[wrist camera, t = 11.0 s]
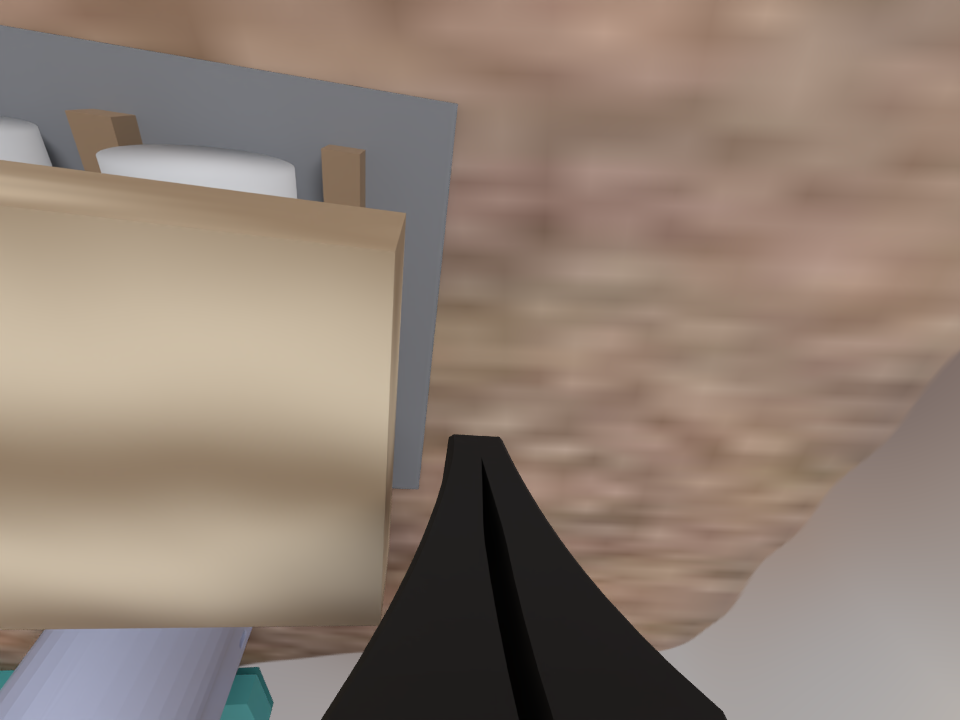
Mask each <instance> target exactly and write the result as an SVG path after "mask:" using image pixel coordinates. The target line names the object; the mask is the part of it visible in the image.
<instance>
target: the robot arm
mask: <svg viewBox="0 0 960 720" xmlns="http://www.w3.org/2000/svg"><path fill="white" fill-rule="evenodd" d="M251 630H252V627H209V628H124V629H45V630H44V631H43V633H42V634H41V635H40V637H39V638H38V639H37V641H36V642H35V644H34V645H33V646H32V648H31V649H30V650H29V652H28V653H27V654H26V656H25V657H24V658H23V660H22V661H21V663H20V664H19V665H18V667H17V668H16V669H15V671H14V672H13V673H12V675H11V676H10V677H9V679H8V680H7V682H6V683H5V684H4V686H3V687H2V688H1V690H0V720H220V718H221V715H222V712H223V709H224V706H225V704H226V701H227V698H228V695H229V692H230V689H231V687H232V684H233V681H234V678H235V675H236V672H237V669H238V667H239V664H240V661H241V658H242V655H243V652H244V650H245V647H246V644H247V641H248V638H249V635H250V632H251ZM321 720H727V719H726V717H725V715H724V713H723V711H722V710H721V709H720V708H718V707H717V706H716V705H715V704H714V703H713V702H712V701H711V700H709V699H708V698H707V697H706V696H705V695H704V694H703V693H702V692H701V691H700V690H698V689H697V688H696V687H695V686H694V685H693V684H692V683H691V682H690V681H688V680H687V679H686V678H685V677H684V676H683V675H682V674H681V673H679V672H678V671H677V670H676V669H675V668H674V667H673V666H672V665H671V664H670V663H669V662H668V661H667V660H666V659H665V658H664V657H663V656H662V655H661V654H660V653H659V652H658V651H657V650H656V649H655V648H654V647H653V646H652V645H651V644H650V643H649V642H648V641H647V640H646V639H645V638H644V637H643V636H642V635H641V634H640V633H639V632H638V631H637V630H636V629H635V628H634V627H633V626H632V625H631V624H630V622H629V621H628V620H627V619H626V618H625V617H624V616H623V615H622V614H621V613H620V612H619V611H618V609H617V608H616V607H615V606H614V605H613V604H612V603H611V602H610V601H609V600H608V599H607V598H606V596H605V595H604V594H603V593H602V592H601V591H600V589H599V588H598V587H597V586H596V585H595V583H594V582H593V581H592V580H591V579H590V577H589V576H588V575H587V574H586V573H585V571H584V570H583V569H582V568H581V566H580V565H579V564H578V562H577V561H576V560H575V559H574V557H573V556H572V555H571V553H570V552H569V551H568V549H567V548H566V547H565V545H564V544H563V542H562V541H561V540H560V538H559V537H558V535H557V534H556V533H555V531H554V530H553V528H552V527H551V525H550V524H549V522H548V521H547V519H546V518H545V516H544V515H543V513H542V512H541V510H540V508H539V507H538V505H537V504H536V502H535V500H534V499H533V497H532V495H531V494H530V492H529V490H528V489H527V487H526V485H525V483H524V482H523V480H522V478H521V476H520V475H519V473H518V471H517V469H516V467H515V465H514V463H513V461H512V460H511V458H510V456H509V454H508V451H507V449H506V447H505V445H504V443H503V441H502V440H501V438H500V437H491V436H473V435H455V434H454V435H452V436H450V437H449V440H448V447H447V454H446V461H445V467H444V474H443V481H442V485H441V488H440V491H439V495H438V498H437V501H436V504H435V507H434V509H433V512H432V514H431V517H430V520H429V522H428V525H427V528H426V530H425V533H424V535H423V538H422V540H421V542H420V545H419V547H418V549H417V551H416V554H415V556H414V558H413V560H412V562H411V564H410V567H409V569H408V571H407V573H406V575H405V577H404V579H403V581H402V583H401V585H400V587H399V589H398V591H397V593H396V595H395V597H394V599H393V600H392V602H391V604H390V606H389V608H388V610H387V612H386V614H385V615H384V617H383V619H382V621H381V622H380V624H379V626H378V628H377V629H376V631H375V633H374V635H373V636H372V638H371V640H370V641H369V643H368V645H367V647H366V648H365V650H364V652H363V654H362V655H361V657H360V659H359V661H358V662H357V664H356V665H355V667H354V669H353V670H352V672H351V674H350V675H349V677H348V678H347V680H346V681H345V683H344V684H343V686H342V688H341V689H340V691H339V692H338V694H337V695H336V697H335V699H334V700H333V702H332V703H331V705H330V707H329V708H328V710H327V711H326V713H325V714H324V716H323V717H322V719H321Z"/></svg>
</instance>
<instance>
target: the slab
mask: <svg viewBox="0 0 960 720" xmlns="http://www.w3.org/2000/svg"><path fill="white" fill-rule="evenodd" d="M405 225H406V213H402V212H394V211H387V210H379V209H371V208H364V207H356V206H348V205H341V204H333V203H326V202H318V201H310V200H303V199H295V198H288V197H280V196H272V195H265V194H257V193H250V192H242V191H234V190H227V189H219V188H211V187H204V186H196V185H189V184H181V183H173V182H166V181H158V180H151V179H143V178H135V177H128V176H120V175H112V174H105V173H97V172H90V171H82V170H74V169H67V168H59V167H52V166H44V165H36V164H29V163H21V162H14V161H6V160H0V630H38V629H124V628H209V627H295V626H379V624H380V622H381V616H382V607H383V598H384V589H385V580H386V572H387V563H388V554H389V538H390V519H391V499H392V480H393V460H394V440H395V421H396V401H397V382H398V362H399V343H400V323H401V303H402V284H403V264H404V245H405Z"/></svg>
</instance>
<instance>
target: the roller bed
mask: <svg viewBox="0 0 960 720" xmlns="http://www.w3.org/2000/svg"><path fill="white" fill-rule="evenodd" d="M457 107H458V104H455V103H449V102H444V101H438V100H432V99H426V98H420V97H415V96H409V95H403V94H397V93H391V92H386V91H380V90H374V89H368V88H362V87H357V86H351V85H345V84H339V83H333V82H327V81H322V80H316V79H310V78H304V77H298V76H293V75H287V74H281V73H275V72H269V71H264V70H258V69H252V68H246V67H240V66H235V65H229V64H223V63H217V62H211V61H206V60H200V59H194V58H188V57H182V56H177V55H171V54H165V53H159V52H153V51H148V50H142V49H136V48H130V47H124V46H119V45H113V44H107V43H101V42H95V41H90V40H84V39H78V38H72V37H66V36H61V35H55V34H49V33H43V32H37V31H32V30H26V29H20V28H14V27H8V26H3V25H0V160H6V161H14V162H21V163H29V164H36V165H44V166H52V167H59V168H67V169H74V170H82V171H90V172H97V173H105V174H112V175H120V176H128V177H135V178H143V179H151V180H158V181H166V182H173V183H181V184H189V185H196V186H204V187H211V188H219V189H227V190H234V191H242V192H250V193H257V194H265V195H272V196H280V197H288V198H295V199H303V200H310V201H318V202H326V203H333V204H341V205H348V206H356V207H364V208H371V209H379V210H387V211H394V212H402V213H406V225H405V245H404V264H403V284H402V303H401V323H400V343H399V362H398V382H397V401H396V421H395V440H394V460H393V480H392V488H397V489H419V480H420V470H421V460H422V450H423V440H424V431H425V421H426V411H427V401H428V391H429V381H430V372H431V362H432V352H433V342H434V332H435V323H436V313H437V303H438V293H439V283H440V273H441V264H442V254H443V244H444V234H445V224H446V215H447V205H448V195H449V185H450V175H451V166H452V156H453V146H454V136H455V126H456V116H457Z"/></svg>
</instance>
